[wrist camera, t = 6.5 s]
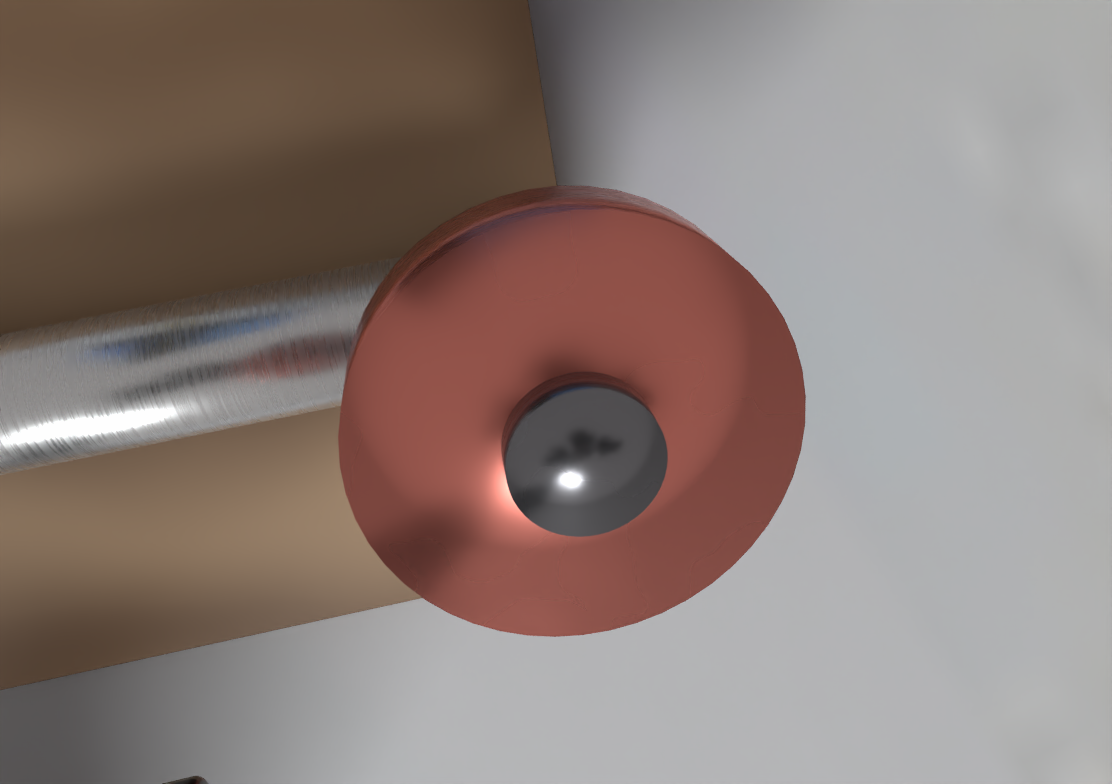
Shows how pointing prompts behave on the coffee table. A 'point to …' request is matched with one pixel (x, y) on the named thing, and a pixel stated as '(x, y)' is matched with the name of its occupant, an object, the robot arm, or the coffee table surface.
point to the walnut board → (224, 279)
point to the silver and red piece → (477, 402)
